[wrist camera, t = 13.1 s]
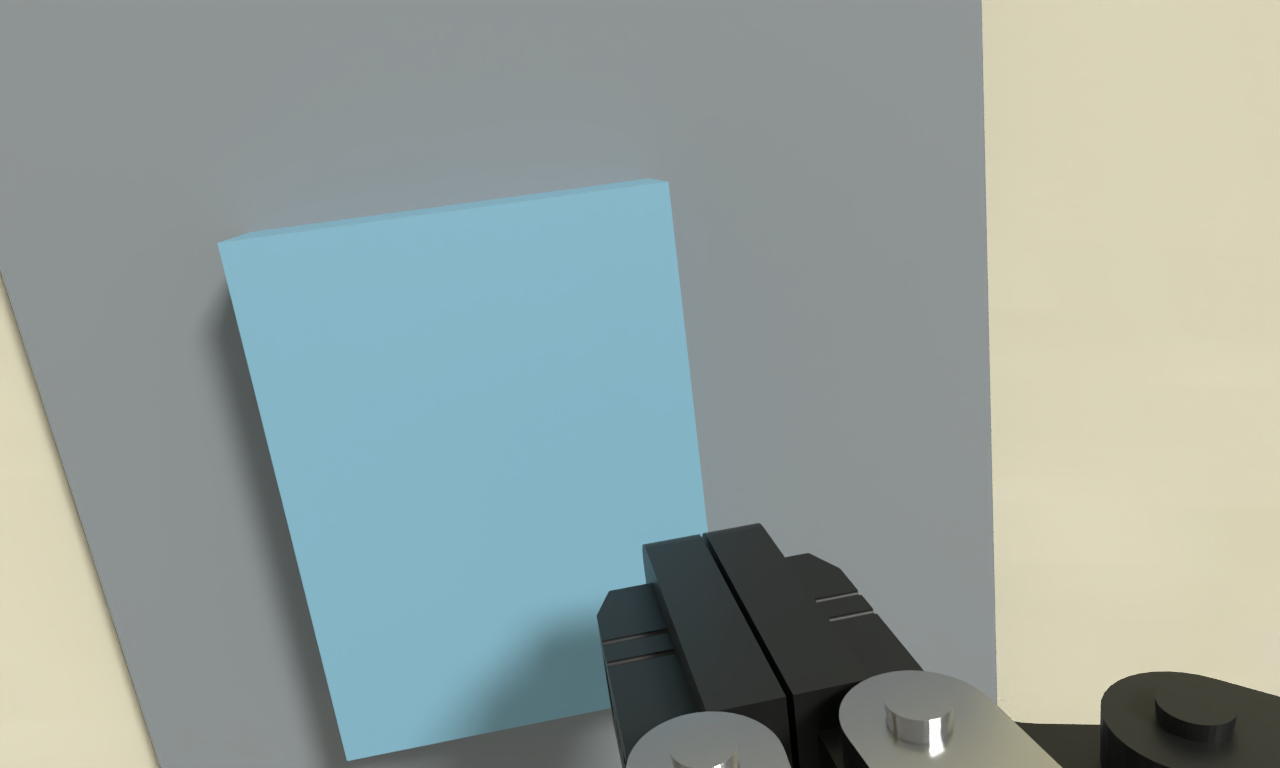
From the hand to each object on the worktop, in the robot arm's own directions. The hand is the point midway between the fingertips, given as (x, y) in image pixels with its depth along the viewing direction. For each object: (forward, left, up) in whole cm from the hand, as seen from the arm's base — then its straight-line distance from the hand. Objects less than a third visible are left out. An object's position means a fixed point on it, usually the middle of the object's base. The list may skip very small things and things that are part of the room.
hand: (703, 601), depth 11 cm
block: (-1, -1, -3) cm, 3 cm away
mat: (+1, 0, -5) cm, 5 cm away
